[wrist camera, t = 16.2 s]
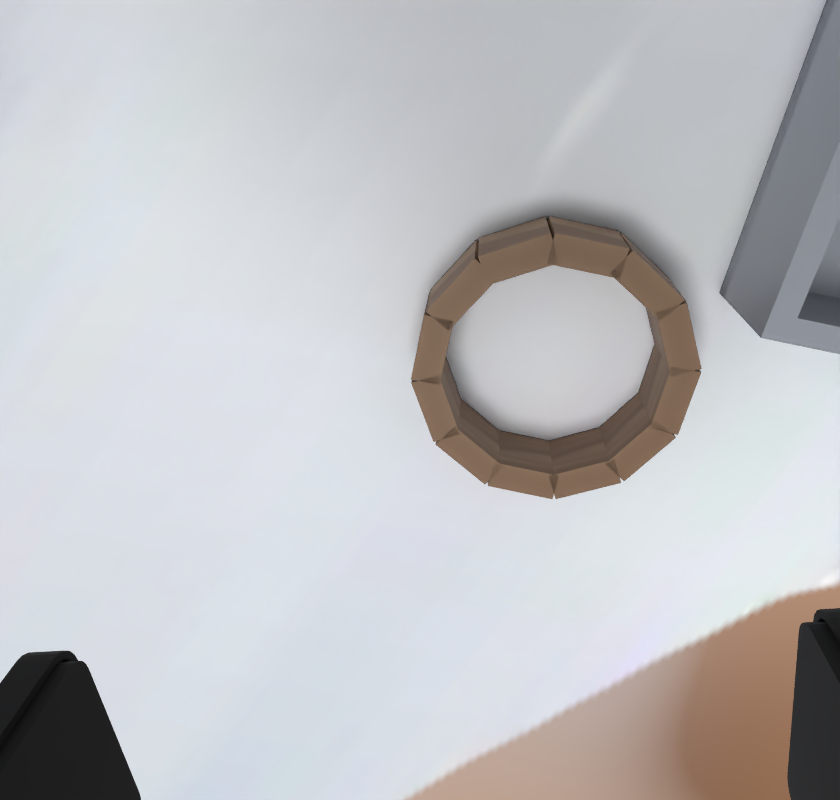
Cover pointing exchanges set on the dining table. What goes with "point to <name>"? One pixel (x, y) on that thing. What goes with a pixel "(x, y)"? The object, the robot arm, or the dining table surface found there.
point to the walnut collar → (586, 451)
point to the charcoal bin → (797, 213)
